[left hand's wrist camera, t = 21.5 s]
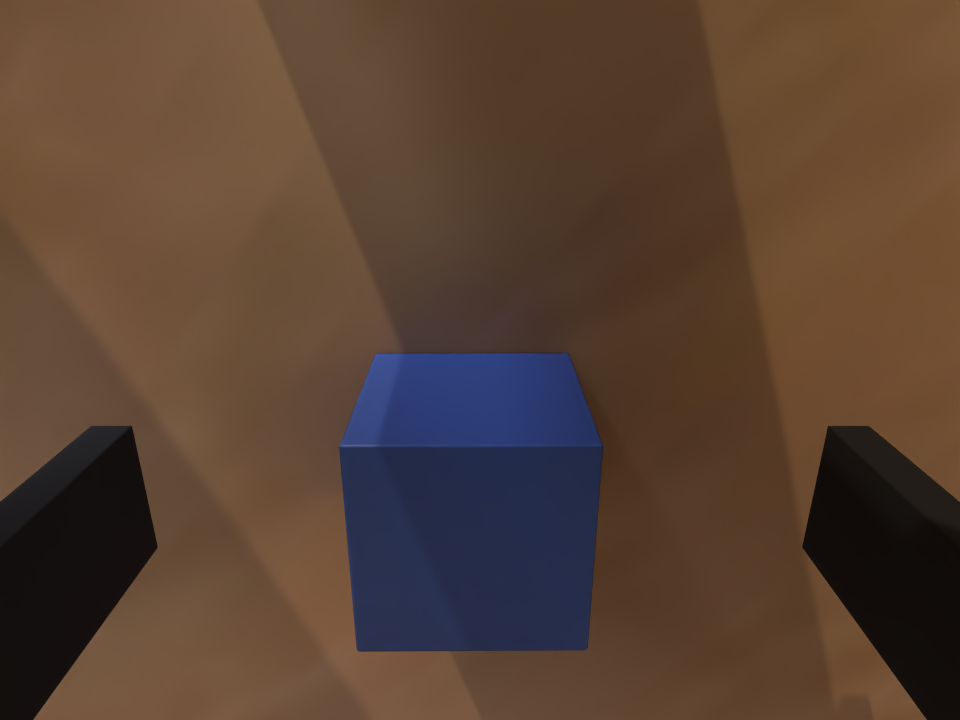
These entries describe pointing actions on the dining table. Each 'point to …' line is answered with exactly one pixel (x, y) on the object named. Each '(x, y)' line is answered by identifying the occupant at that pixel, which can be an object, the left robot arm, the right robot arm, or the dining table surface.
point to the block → (471, 503)
